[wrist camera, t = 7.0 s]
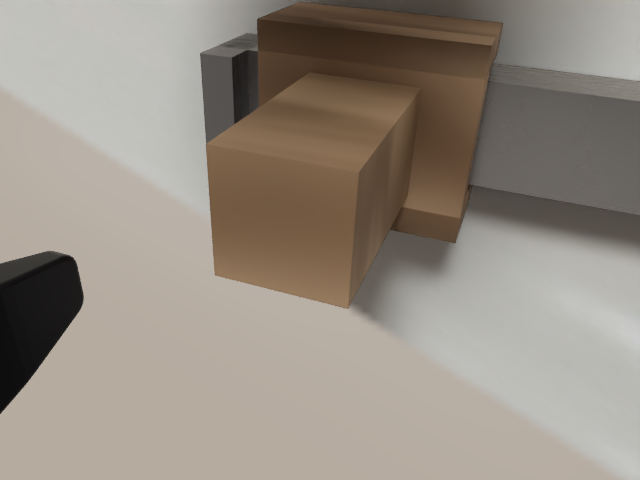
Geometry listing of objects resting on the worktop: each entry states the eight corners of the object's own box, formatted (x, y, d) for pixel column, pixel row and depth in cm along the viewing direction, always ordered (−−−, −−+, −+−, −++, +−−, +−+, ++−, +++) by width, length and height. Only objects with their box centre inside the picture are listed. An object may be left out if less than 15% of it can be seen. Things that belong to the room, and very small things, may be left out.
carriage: (469, 198, 19) (413, 373, 12) (296, 166, 20) (160, 303, 14) (502, 23, 16) (456, 118, 9) (299, 1, 18) (129, 69, 11)
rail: (1040, 253, 15) (1134, 324, 12) (248, 121, 21) (206, 150, 18) (1130, 141, 13) (1259, 197, 11) (246, 33, 19) (200, 53, 17)
